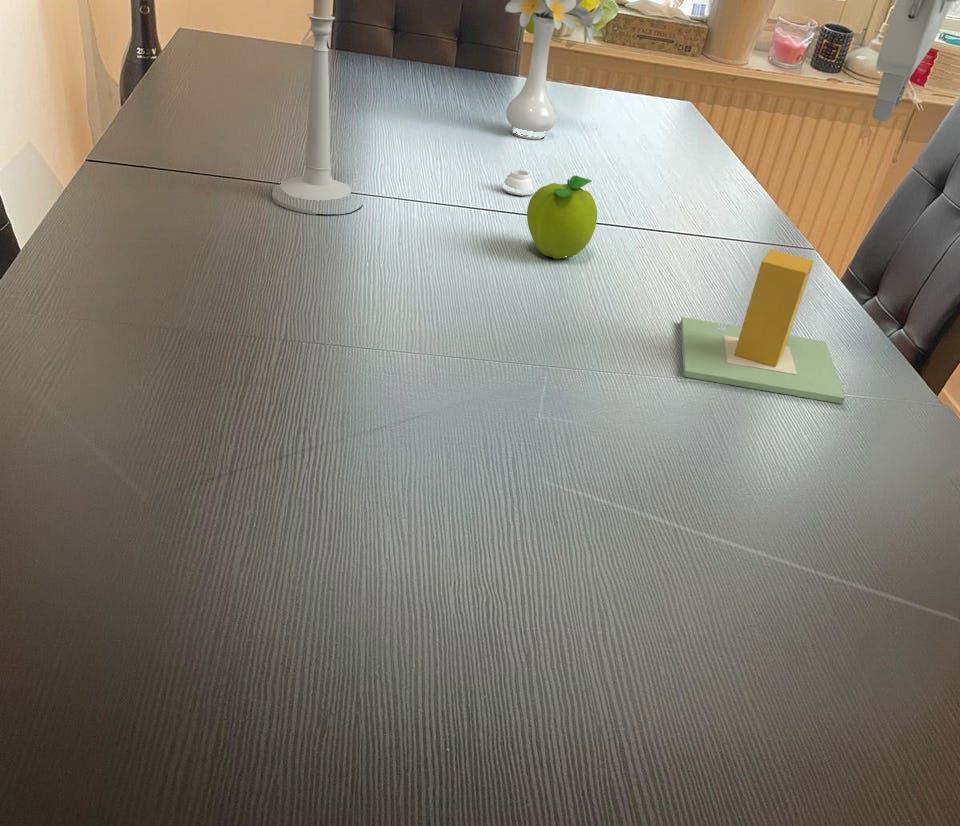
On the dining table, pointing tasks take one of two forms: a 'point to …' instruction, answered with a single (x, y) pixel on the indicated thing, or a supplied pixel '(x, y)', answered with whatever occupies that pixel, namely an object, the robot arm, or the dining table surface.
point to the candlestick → (317, 124)
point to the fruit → (562, 218)
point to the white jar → (519, 182)
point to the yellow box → (773, 307)
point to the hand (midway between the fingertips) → (885, 111)
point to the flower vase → (544, 58)
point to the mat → (795, 374)
